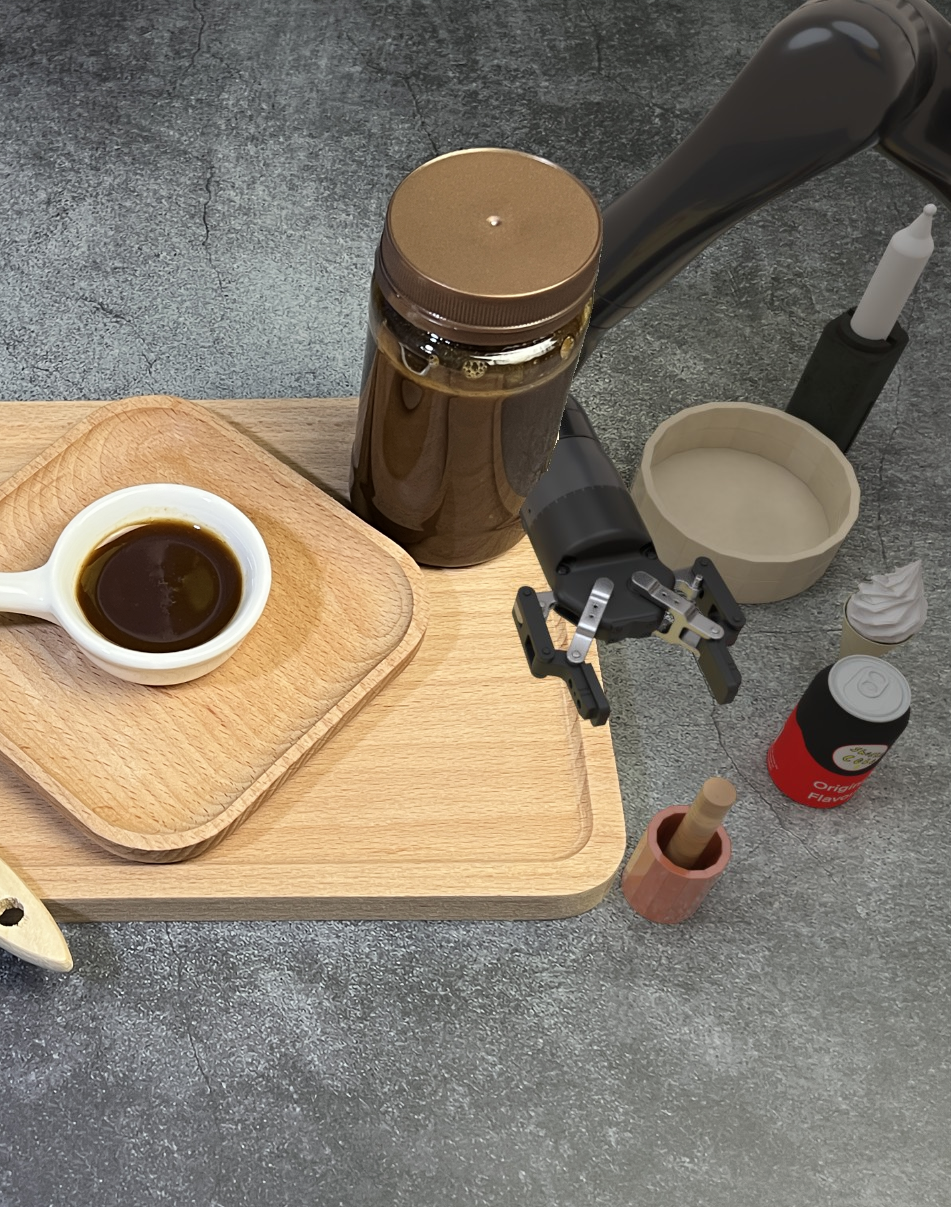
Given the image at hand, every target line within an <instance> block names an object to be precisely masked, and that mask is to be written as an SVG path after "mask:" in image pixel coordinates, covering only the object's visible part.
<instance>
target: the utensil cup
mask: <svg viewBox="0 0 951 1207" xmlns="http://www.w3.org/2000/svg"><path fill="white" fill-rule="evenodd" d="M690 806H691V805H689V804H679V805H678V804H677V805H676V804H675V805H669V806H667V807H666V808H663V809H661V810H659V811H658V812H657V811H656V813H655V814H654V815H653V817H652V819H650V822H649V823H648V825H647V827H646V828H645V830H644V833H643V834H642V836H641V838H640V840H639V841H638V843H637V845H636V847H635V849H634V850H633V852H632V854H631V855H630V858H629V859H628V861H627V863H626V865H625V867H624V868H623V871H622V874H621V890H622V893H623V895H624V898H625V900H626V902H627V903H628V905H629V906H630V907H631V908H632V909H633V910H634V911H635V912H636V913H637V914H639V915H640V916H641V917H643V918H645V919H647V920H649V921H651V922H654V923H658V924H661V925H662V924H665V925H673V924H679V923H681V922H683V921H686V920H687V919H689V918H690V917H692V916H693V915H694V914H695V913H696V912H697V910H698V908H699V907H700V906H701V904H702V903H703V901H704V900H705V898H706V896H708V893H709V892H710V891H711V889H712V888H713V886H714V885H715V884H716V882H717V881H718V879H719V877H720V876H721V875H722V873H724V872H723V871H724V870H725V869H726V867H727V866H728V863H729V862H730V861H731V858H732V842H731V838H730V836H729V834H728V832H727V829H726V828H725V827H724V825H723V824H722V823H721V824H720V826H719V827H718V829H717V830H716V832H715V833H714V835H713V836H712V838H711V840H710V841H709V843H708V844H707V846H706V847H705V849H704V850H703V852H702V854H701V855H700V857H699V858H698V860H697V861H696V863H695V864H694V866H693V868H692V869H691V870H687V869H684V868H681V867H678V866H676V865H674V864H673V863H672V862H671V861H670V860H669V859H667V858H666V857H665V856H664V855H663V852H664V850H665V849H666V847H667V845H668V844H669V842H670V840H671V839H672V837H673V835H674V833H675V832H676V830H677V828H678V827H679V825H680V823H681V822H682V820H683V818H684V817H685V815H686V813H687V811H688V810H689V808H690Z"/></svg>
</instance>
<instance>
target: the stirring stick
mask: <svg viewBox="0 0 951 1207" xmlns="http://www.w3.org/2000/svg"><path fill="white" fill-rule="evenodd" d="M737 797H738V791H737V789H736V787H735V785H734V784H733V783H732V782H731V781H729V780H728V779H726V778H723V777H719V776H713V777H710V778H708V779H707V780H705V781H704V783H703V784H702V786H701V788H700V790H699V791H698V793H697V795H696V796H695V798H694V799H693V801H692V803H691V805H690V808H689V810H688V811H687V813H686V815H685V817H684V818H683V820H682V822H681V823H680V825H679V827H678V828H677V830H676V832H675V833H674V835H673V837H672V839H671V840H670V842H669V844H668V845H667V847H666V849H665V850H664V852H663V855H664V856H665V857H666V858H667V859H669V860H670V861H671V862H672V863H673V864H674V865H676V866H678V867H681V868H684V869H687V870H691V869H692V868H693V866H694V864H695V863H696V861H697V860H698V858H699V857H700V855H701V854H702V852H703V850H704V849H705V847H706V846H707V844H708V843H709V841H710V840H711V838H712V836H713V835H714V833H715V832H716V830H717V829H718V827H719V826H720V824H722V823H723V821H724V819H725V818H726V816H727V815H728V813H729V812H730V810H731V809H732V807H733V805H734V804H735V802H736V800H737V799H738V798H737Z"/></svg>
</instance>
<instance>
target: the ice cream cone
mask: <svg viewBox="0 0 951 1207" xmlns="http://www.w3.org/2000/svg"><path fill="white" fill-rule="evenodd" d="M922 562H923V559H922V558H919V559H917V560H915V561H913V562H911V563H909V564H907V565H905V566H902V567H895V568H894V572H892V573H890V572H889V573H884V575H882V574H874V575H872V576H871V577H870V579H871V581H872V584H871V583H866V582H860V583H858V585H857V586H858V589H856V590H854V591H853V592H851V593H850V594H849V595H848V596H846V598H845V600H844V602H843V605H842V606H843V607H842V613H843V614H842V615H843V620H842V627H841V634H840V642H839V643H840V644H839V652H838V653H839V654H838V660H837V662H838V661H839V660H841V659H842V658H845V657H847V656H851V655H869V656H873V657H877V658H880V657H881V656H883V655H885V654H886V653H887V654H888V653H889V652H891V651H892V650H893V649H895V648H896V647H898V646H901V645H904V644H906V643H908V642H910V641H911V640H912V639H913V638H914V637H915V636H916V634H918V633H920V631H921V628H922V627H923V626H924V624H926V620H927V615H928V614H927V613H928V608H929V602H928V601H927V599H926V597H925V592H926V591H925V587H924V586H925V585H924V583H925V581H924V578H923V575H922V573H923V572H922Z"/></svg>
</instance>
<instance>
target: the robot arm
mask: <svg viewBox="0 0 951 1207" xmlns="http://www.w3.org/2000/svg"><path fill="white" fill-rule="evenodd" d="M870 149H872V150H873V151H875V152H876V153H878V154H880V155H881V156H883V157H884V158H885V159H886V160H888V161H890V162H891V163H892V164H894V165H895V166H896V167H897V168H899V169H900V170H901V171H903V172H905V173H906V174H907V175H908V176H910V177H911V178H913V180H915V181H916V182H918V183H919V184H920V185H921V186H922V187H923V188H925V189H926V190H927V191H929V193H931V194H932V196H934V197H935V199H937V201H939V202H940V203H941V204H942V205H943V207H944V208H945V209H946V210H947V212H948V213H949V214H950V215H951V23H950V22H949V20H947V19H946V18H945V17H944V16H943V15H942V14H941V13H940V12H939V11H938V10H937V9H936V8H934V7H933V5H931V4H930V3H929V2H927V1H926V0H807V1H805V2H804V3H802V4H801V5H800V6H798V7H797V8H796V9H795V10H793V11H792V12H790V13H789V14H788V15H787V16H785V17H784V18H783V19H782V20H780V21H779V22H778V23H776V25H775V26H774V27H773V28H772V29H771V30H770V31H769V32H768V33H767V34H766V36H764V38H763V39H762V41H761V42H760V44H759V46H758V48H757V49H756V51H755V52H754V53H753V55H752V56H751V57H750V59H749V60H748V61H747V62H746V64H745V65H744V66H743V67H742V69H741V70H740V71H739V72H738V74H736V76H735V78H734V79H733V80H732V82H731V83H730V84H729V85H728V86H727V88H726V89H725V90H724V91H723V92H722V94H721V95H720V96H719V98H718V99H717V101H715V103H714V104H713V105H712V107H711V108H710V109H709V111H708V112H707V113H706V114H705V115H704V117H703V118H702V119H700V121H699V122H698V124H696V125H695V127H693V129H692V130H691V131H690V132H689V133H688V134H687V135H686V136H685V138H684V139H682V141H680V143H679V144H678V145H677V146H676V147H674V149H673V150H672V151H671V152H670V153H669V154H668V155H667V156H665V157H664V158H663V159H662V160H661V161H660V162H659V163H658V164H656V166H654V167H653V168H652V169H651V170H649V171H648V172H647V173H646V174H645V175H643V176H642V177H641V178H639V179H638V180H637V181H636V182H635V183H633V184H631V186H629V187H628V188H627V189H625V190H624V191H622V192H621V193H620V194H619V195H618V196H616V197H614V198H613V199H612V200H611V201H610V202H608V203H607V204H605V206H603V207H602V208H601V209H600V210H601V214H602V219H603V246H602V251H601V257H600V263H599V273H598V276H597V281H596V285H595V292H594V304H593V309H592V313H591V318H590V323H589V327H588V329H587V332H586V335H585V339H584V343H583V347H582V349H581V353H580V357H579V362H578V364H577V368H576V370H575V373H574V376H573V381H574V380H575V379H576V377H577V376H578V374H579V373H580V371H581V370H582V369H583V367H584V366H585V364H586V363H587V361H588V360H589V358H590V357H591V356H592V354H593V353H594V352H595V350H596V349H597V347H598V346H599V344H600V343H601V342H602V340H603V338H604V337H605V335H606V334H607V332H609V331H610V330H612V329H613V328H614V327H616V326H617V325H618V324H619V323H621V322H622V321H623V320H625V319H626V318H628V316H630V315H631V314H632V313H634V312H635V311H636V310H638V309H639V308H640V307H641V306H642V305H644V304H645V303H646V302H647V301H649V300H650V299H651V298H653V297H654V296H655V295H656V294H657V293H659V292H660V291H661V290H662V289H663V288H664V287H666V286H667V285H668V284H669V283H670V282H672V281H673V280H674V279H675V278H676V277H677V276H678V275H679V274H680V273H682V272H683V270H684V269H686V268H687V267H688V266H689V265H690V264H692V262H693V261H695V259H696V258H698V257H699V256H700V255H701V254H703V252H704V251H706V249H707V248H709V247H710V246H711V245H712V244H714V243H715V242H716V241H717V240H718V239H719V238H721V237H722V236H723V235H724V234H726V233H727V232H728V231H730V230H731V229H733V228H734V227H735V226H736V225H738V224H740V223H741V222H742V221H744V220H745V219H747V218H748V217H749V216H751V215H752V214H754V213H756V212H757V211H759V210H760V209H762V208H763V207H765V206H766V205H768V204H770V203H771V202H773V201H774V200H776V199H778V198H780V197H781V196H783V195H785V194H787V193H790V191H792V190H795V189H797V188H798V187H800V186H801V185H803V184H805V183H807V182H808V181H809V182H810V181H811V180H812V179H814V178H816V177H818V176H819V175H822V174H823V173H825V172H827V171H829V170H831V169H834V168H835V167H836V166H838V165H840V164H842V163H844V162H846V161H848V160H849V159H852V158H854V157H856V156H858V155H861V154H863V153H865V152H867V151H869V150H870ZM519 514H520V515H519ZM518 516H519V519H520V523H521V527H522V529H523V531H524V533H525V535H527V538H528V540H529V542H530V544H531V547H532V550H533V552H534V554H535V556H536V559H537V561H538V564H539V566H540V568H541V571H542V574H543V575H544V578H545V580H546V583H547V584H548V586H549V588H550V589H551V590H548V591H538V592H536V590H535V589H534V588H533V587H532V586H529V585H523V586H520V587H519V588H518V590H517V593H516V596H515V598H514V603H513V605H512V610H511V615H512V619H513V622H514V625H515V628H516V630H517V634H518V637H519V640H520V644H521V647H522V650H523V654H524V656H525V659H526V663H527V665H528V668H529V672H530V674H531V676H532V677H534V678H536V679H539V680H543V679H545V678H547V677H556V678H558V679H561V680H562V681H563V682H564V683H565V684H566V687H567V689H568V692H569V694H570V697H571V699H572V701H573V704H574V706H575V709H576V711H577V713H578V715H579V716H580V717H581V719H583V720H584V721H587V720H589V722H590V724H591V726H592V727H593V728H597V727H603V726H606V724H607V722H608V720H609V718H610V715H611V707H610V703H609V701H608V699H607V696H606V694H605V692H604V689H603V688H602V685H601V683H600V680H599V677H598V676H597V673H596V671H595V668H594V666H593V664H592V662H587V663H586V657H587V656H588V653H589V650H590V648H591V646H592V643H593V641H594V639H595V640H598V641H601V642H604V643H605V645H611V644H617V643H619V642H622V641H623V640H624V641H625V640H626V639H639V640H640V639H645V638H651V636H652V634H653V635H655V636H657V637H658V638H660V639H662V640H663V641H664V642H666V643H668V644H671V645H680V646H681V647H683V648H685V649H686V650H688V651H689V652H692V654H695V655H696V656H698V660H697V664H698V666H699V668H700V670H701V672H702V674H703V676H704V678H705V680H706V683H707V685H708V687H709V688H710V691H711V692H712V693H711V694H712V695H713V696H714V699H715V702H716V703H717V705H719V706H724V705H729V704H732V703H733V701H735V699H736V696H737V695H738V693H739V688H740V686H741V684H742V682H743V681H742V674H741V672H740V670H739V668H738V666H737V664H736V662H735V660H734V658H733V655H732V654H731V652H730V650H729V648H730V647H733V646H734V645H735V644H736V642H737V640H738V637H739V636H740V634H741V631H742V630H743V628H745V625H746V623H747V617H746V616H745V614H744V613H743V610H742V609H741V607H740V606H739V603H737V602H736V601H735V599H734V597H733V596H732V594H731V592H730V591H729V589H728V587H727V586H726V584H725V582H724V580H723V579H722V577H721V575H720V574H719V572H718V570H717V569H716V567H715V565H714V564H713V562H712V561H711V560H710V559H709V558H707V557H704V556H701V557H698V558H696V560H695V562H694V564H693V565H692V566H689V567H685V568H680V569H676V570H671V569H670V568H668V567H667V566H666V565H664V564H663V563H662V562H661V561H660V559H659V558H658V555H657V552H656V549H655V545H654V543H653V540H652V538H651V536H650V534H649V532H648V530H647V528H646V526H645V524H644V522H643V520H642V517H641V515H640V513H639V511H638V509H637V507H636V505H635V503H634V501H633V499H632V497H631V495H630V493H629V489H628V487H627V484H626V483H625V481H624V479H623V477H622V475H621V472H620V471H619V469H618V467H617V466H616V464H615V463H614V461H613V460H612V459H611V457H610V456H609V454H608V453H607V452H606V450H605V448H604V446H603V444H602V442H601V440H600V439H599V436H598V434H597V432H596V429H595V428H594V426H593V423H592V422H591V419H590V418H589V415H588V413H587V411H586V410H585V408H584V406H583V405H582V404H581V402H580V401H579V400H578V399H577V398H576V397H575V396H574V395H573V394H571V393H570V392H569V394H568V398H567V403H566V405H565V410H564V412H563V417H562V420H561V426H560V430H559V440H557V443H556V445H555V448H554V450H553V453H552V456H551V461H550V464H549V466H548V471H546V472H544V475H543V476H542V478H541V479H540V480H539V481H538V483H537V484H536V486H535V487H534V488H533V489H532V491H531V492H530V493H529V495H528V496H527V497H526V499H525V501H524V502H523V504H522V506H521V508H520V511H519V513H518ZM675 589H676V590H680V591H682V592H683V593H684V594H685V597H686V598H684V597H682V596H681V595H679V594H677V593H676V592H674V590H675ZM693 600H694V602H695V604H696V605H697V608H698V609H699V611H700V612H701V613H700V612H698V611H697V608H696V606H695V605H694V603H692V602H691V601H693ZM551 610H552V611H553V612H554V613H555V614H556V615H558V616H559V617H561V618H562V619H563V620H565V621H567V622H568V623H570V624H571V625H573V626H574V627H576V629H575V632H574V634H573V636H572V638H571V641H570V642H569V643H570V644H569V645H568V649H567V650H566V649H565V650H563V649H556V648H555V645H554V642H553V639H552V637H551V633H550V629H549V628H548V624H547V622H548V618H549V615H550V611H551ZM667 612H669V613H670V614H671V615H672V616H673V621H670V620H668V619H666V618H665V617H666V613H667ZM728 647H729V648H728Z"/></svg>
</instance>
